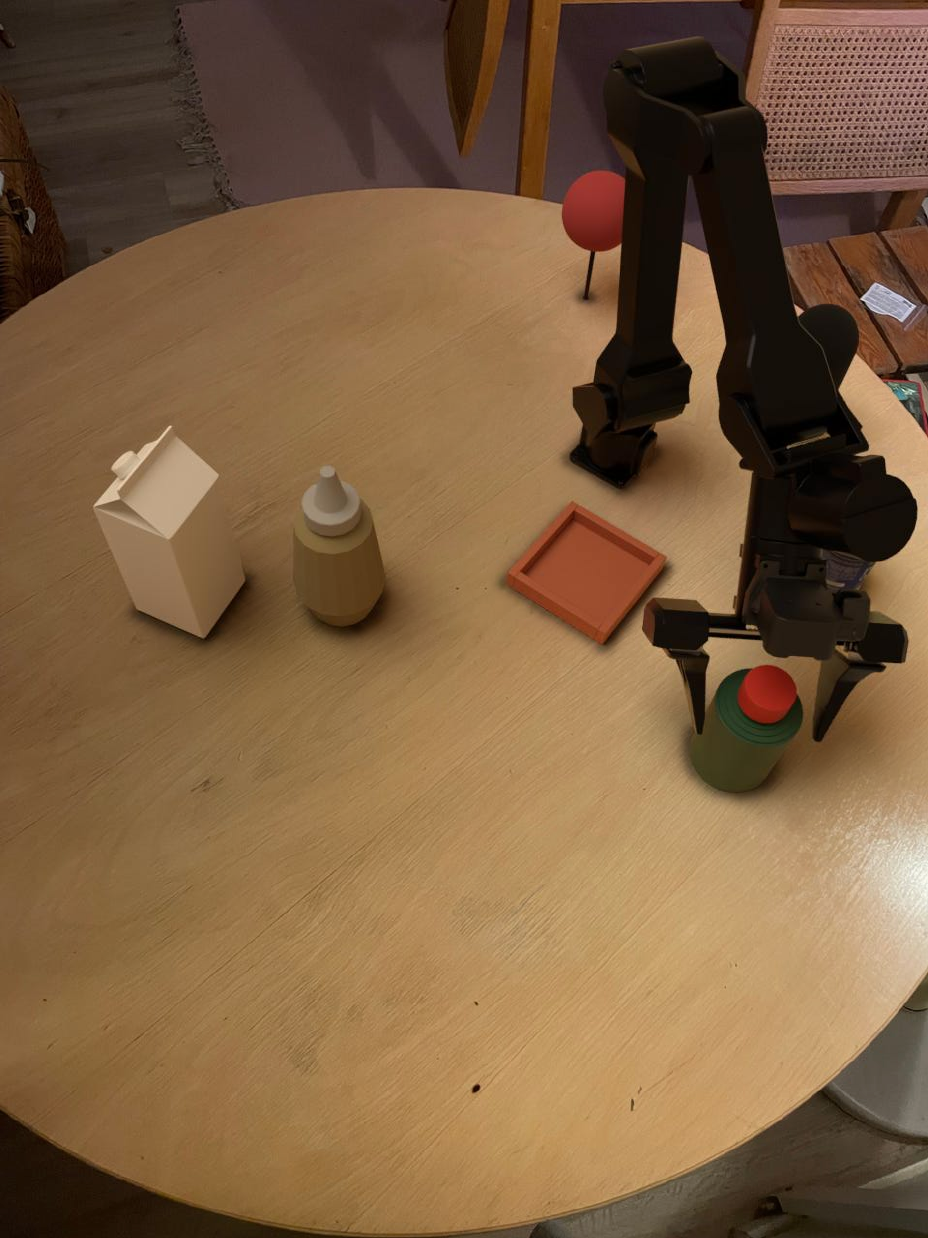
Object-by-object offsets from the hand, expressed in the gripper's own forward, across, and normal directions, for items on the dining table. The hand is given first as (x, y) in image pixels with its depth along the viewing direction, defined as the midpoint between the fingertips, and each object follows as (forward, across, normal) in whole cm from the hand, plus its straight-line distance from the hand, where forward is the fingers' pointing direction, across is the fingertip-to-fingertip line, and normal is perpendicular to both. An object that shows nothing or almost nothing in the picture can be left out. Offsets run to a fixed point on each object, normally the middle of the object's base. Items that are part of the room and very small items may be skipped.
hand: (757, 737), depth 80 cm
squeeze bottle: (-5, -34, +16) cm, 38 cm away
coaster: (-8, -12, +19) cm, 24 cm away
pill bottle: (-9, +10, +20) cm, 24 cm away
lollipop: (-35, -12, +46) cm, 59 cm away
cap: (-4, 0, -2) cm, 5 cm away
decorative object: (-23, +9, +34) cm, 42 cm away
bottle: (+4, 0, +6) cm, 7 cm away
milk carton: (-5, -48, +15) cm, 51 cm away
